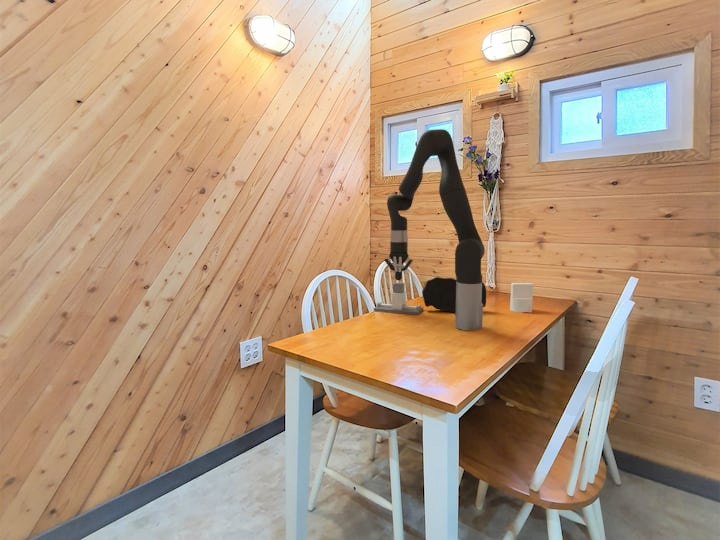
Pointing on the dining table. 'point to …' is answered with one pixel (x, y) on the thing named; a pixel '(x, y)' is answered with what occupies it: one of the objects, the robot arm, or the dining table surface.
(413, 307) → the rail plate
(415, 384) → the dining table surface
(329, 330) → the dining table surface
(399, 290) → the din module
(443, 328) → the dining table surface
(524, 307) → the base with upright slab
